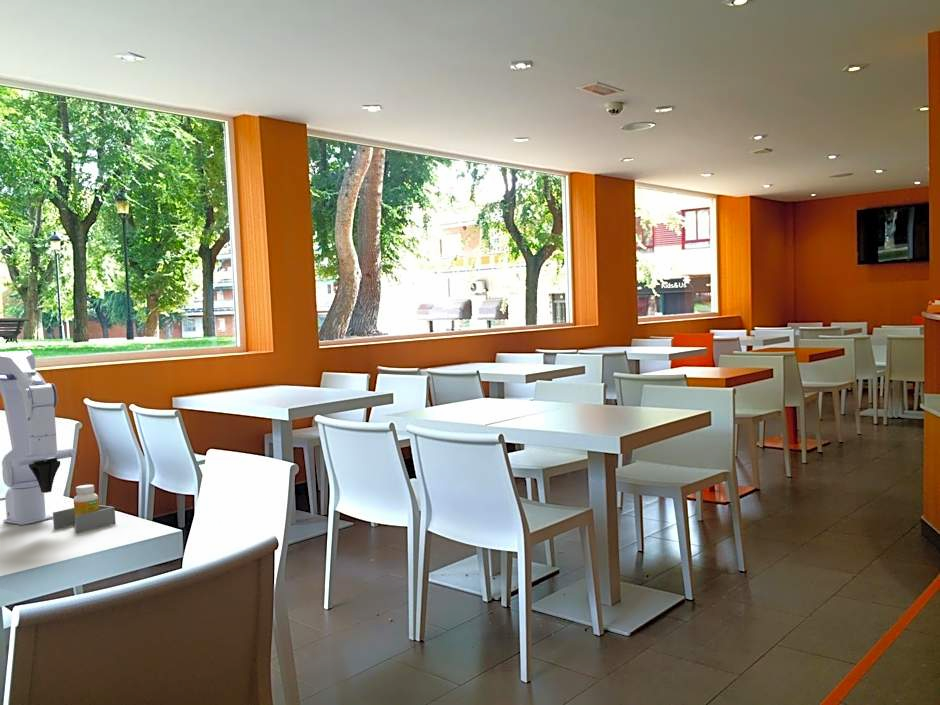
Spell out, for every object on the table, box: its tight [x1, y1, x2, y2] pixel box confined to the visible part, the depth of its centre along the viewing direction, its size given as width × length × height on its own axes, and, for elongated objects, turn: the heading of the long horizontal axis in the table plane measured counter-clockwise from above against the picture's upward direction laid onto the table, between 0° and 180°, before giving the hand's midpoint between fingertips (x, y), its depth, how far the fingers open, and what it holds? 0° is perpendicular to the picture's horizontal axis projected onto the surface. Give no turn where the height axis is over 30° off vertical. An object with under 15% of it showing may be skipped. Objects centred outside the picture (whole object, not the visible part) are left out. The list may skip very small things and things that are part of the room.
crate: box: [52, 504, 116, 534], centre depth 194 cm, size 10×10×4 cm
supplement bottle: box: [73, 484, 100, 516], centre depth 195 cm, size 5×5×10 cm
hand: (46, 491), depth 191 cm, fingers closed
